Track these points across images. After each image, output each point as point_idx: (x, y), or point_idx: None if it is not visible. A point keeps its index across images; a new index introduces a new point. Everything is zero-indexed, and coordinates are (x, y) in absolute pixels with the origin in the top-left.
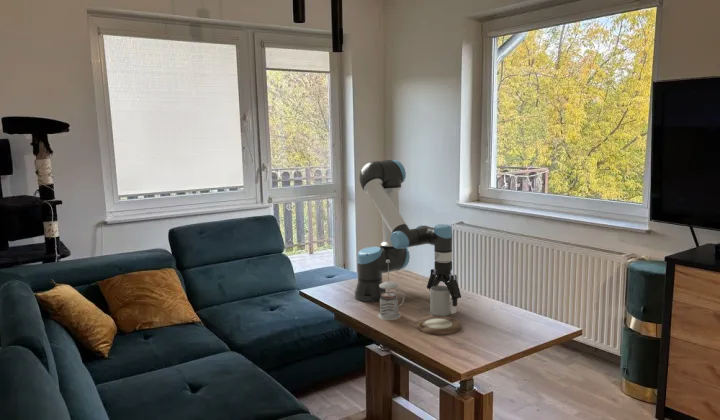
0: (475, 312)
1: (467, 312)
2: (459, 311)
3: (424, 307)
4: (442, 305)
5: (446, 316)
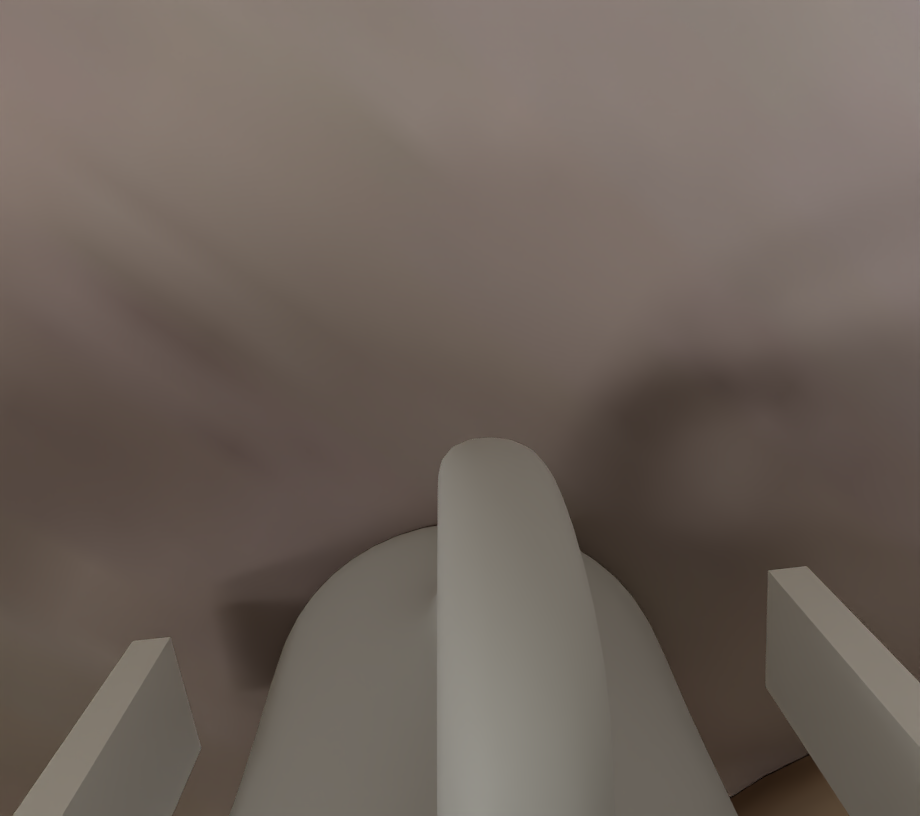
0: (914, 43)
1: (788, 217)
2: (629, 333)
3: None
4: None
5: (818, 808)
